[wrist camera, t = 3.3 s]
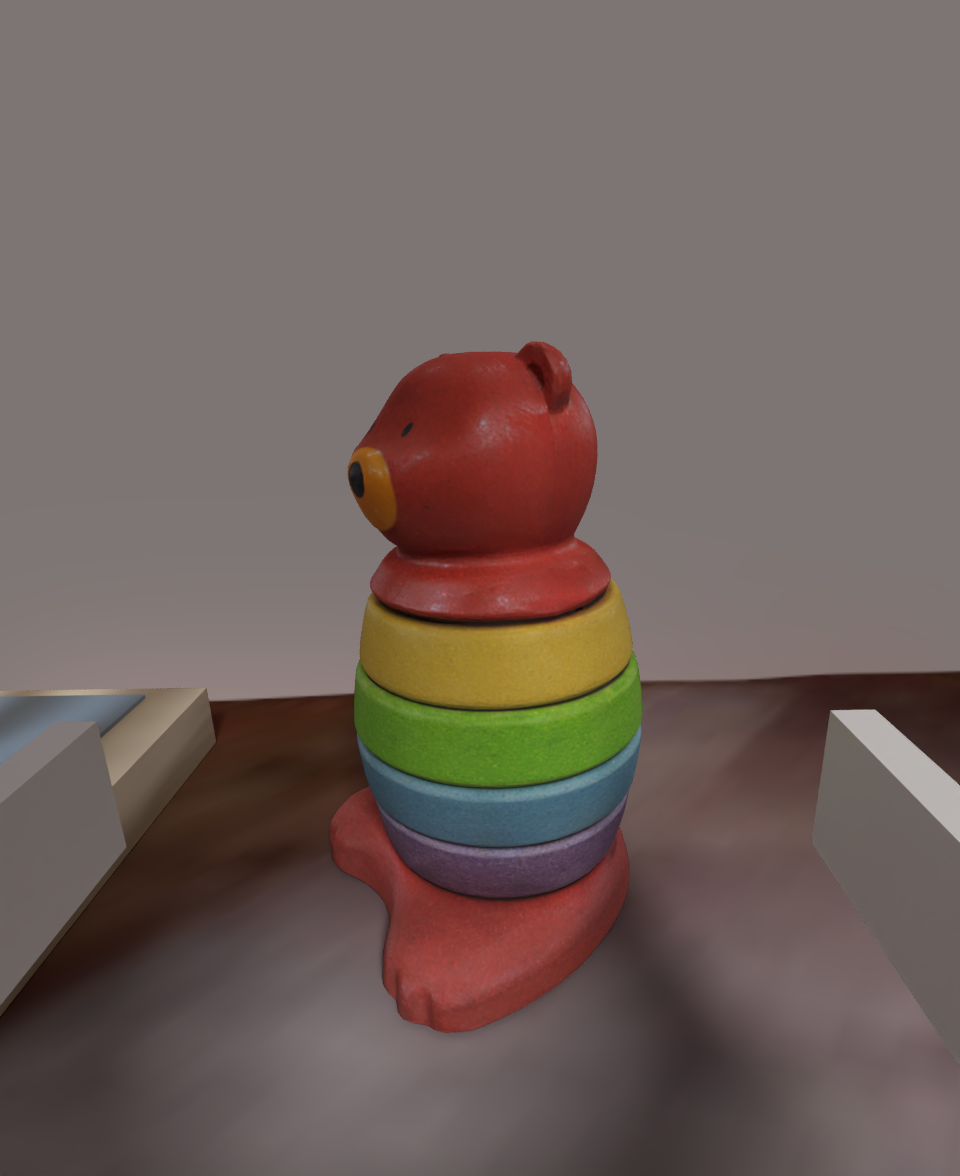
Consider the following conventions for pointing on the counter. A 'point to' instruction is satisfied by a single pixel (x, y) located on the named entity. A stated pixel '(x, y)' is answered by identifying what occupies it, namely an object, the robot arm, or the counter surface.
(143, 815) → the plinth
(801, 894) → the counter surface
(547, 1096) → the counter surface
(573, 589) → the stacking bear
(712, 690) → the counter surface
